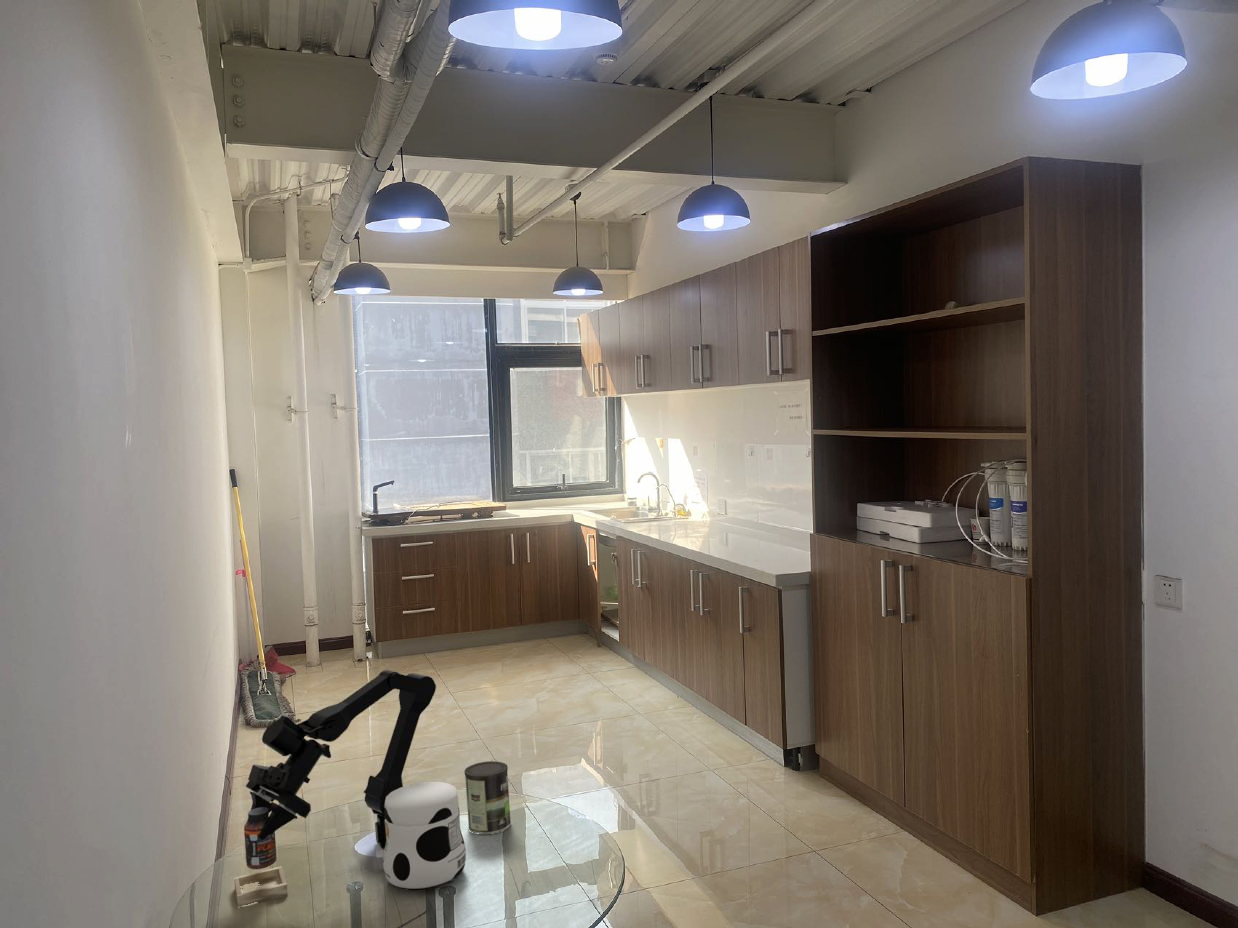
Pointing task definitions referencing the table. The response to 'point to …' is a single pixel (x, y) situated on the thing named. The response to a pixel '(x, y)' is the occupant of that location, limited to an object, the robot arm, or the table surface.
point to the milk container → (423, 836)
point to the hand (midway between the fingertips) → (253, 835)
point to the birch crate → (261, 886)
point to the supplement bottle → (258, 841)
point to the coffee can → (487, 797)
